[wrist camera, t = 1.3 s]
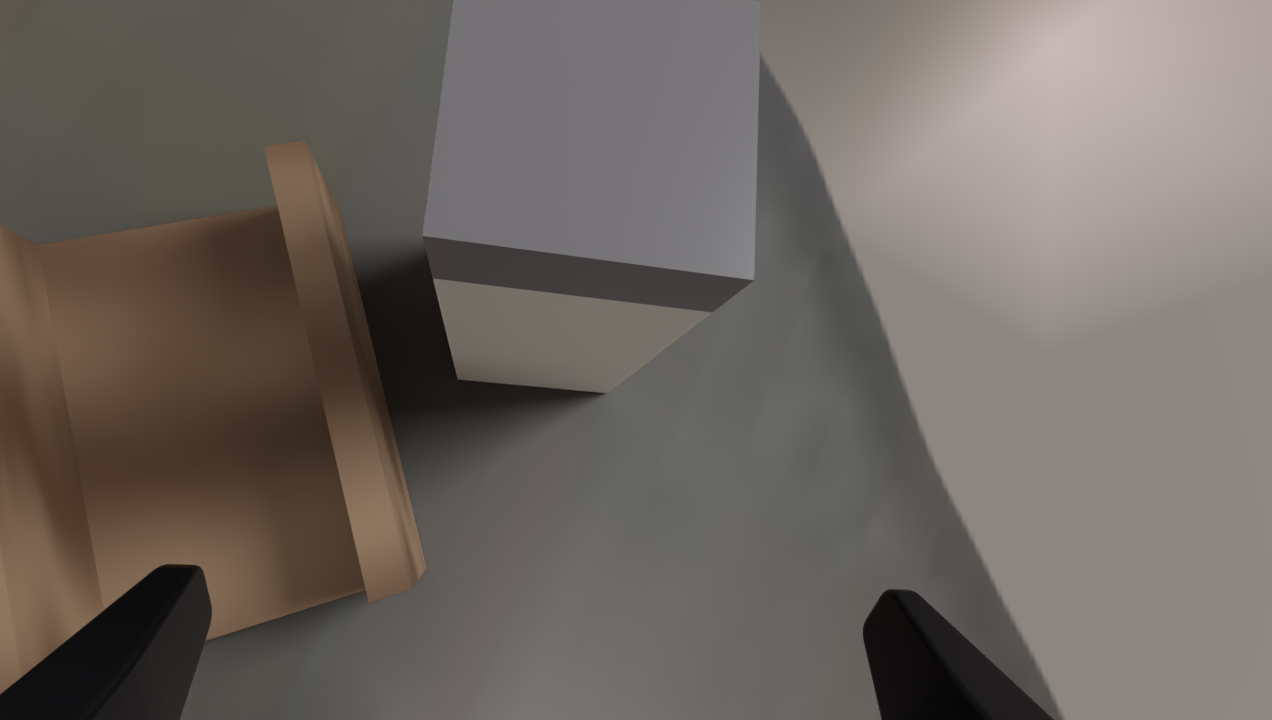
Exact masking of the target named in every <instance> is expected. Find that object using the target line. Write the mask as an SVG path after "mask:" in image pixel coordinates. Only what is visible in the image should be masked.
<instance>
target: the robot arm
mask: <svg viewBox="0 0 1272 720" xmlns="http://www.w3.org/2000/svg"><path fill="white" fill-rule="evenodd" d="M211 619H212V605H211V600H210V596H209V592H208V587H207V583H206V579H205V575H204V572H203V569H202V568H201V567H199V566H198V565H186V564H165V565H162V566H159V567H157V568H155V569H154V570H153V571H151V572H150V573H149V574H148V575H147V576H145V577H144V578H143V579H142V580H140V581H139V582H138V583H137V584H135V585H134V586H133V587H132V588H130V589H129V590H128V591H127V592H126V593H124V594H123V595H122V596H121V597H119V598H118V599H117V600H116V601H114V602H113V603H112V604H111V605H110V606H108V607H107V608H106V609H105V610H103V611H102V612H101V613H100V614H98V615H97V616H96V617H95V618H93V619H92V620H91V621H90V622H89V623H87V624H86V625H85V626H84V627H82V628H81V629H80V630H79V631H77V632H76V633H75V634H74V635H73V636H71V637H70V638H69V639H68V640H66V641H65V642H64V643H63V644H61V645H60V646H59V647H58V648H56V649H55V650H54V651H53V652H52V653H50V654H49V655H48V656H47V657H45V658H44V659H43V660H42V661H40V662H39V663H38V664H37V665H36V666H34V667H33V668H32V669H31V670H29V671H28V672H27V673H26V674H24V675H23V676H22V677H21V678H20V679H18V680H17V681H16V682H15V683H13V684H12V685H11V686H10V687H8V688H7V689H6V690H5V691H3V692H2V693H1V694H0V720H180V717H181V714H182V711H183V708H184V705H185V701H186V698H187V695H188V692H189V689H190V686H191V683H192V680H193V677H194V674H195V671H196V668H197V665H198V662H199V658H200V655H201V652H202V649H203V646H204V643H205V640H206V637H207V634H208V631H209V627H210V624H211ZM863 639H864V644H865V649H866V653H867V657H868V662H869V666H870V671H871V675H872V680H873V684H874V688H875V693H876V697H877V702H878V706H879V710H880V715H881V719H882V720H1054V719H1053V718H1052V717H1051V716H1050V715H1048V714H1047V713H1046V712H1045V711H1044V710H1043V709H1042V708H1041V707H1040V706H1039V705H1038V704H1037V703H1036V702H1034V701H1033V700H1032V699H1031V698H1030V697H1029V696H1028V695H1027V694H1026V693H1025V692H1024V691H1023V690H1022V689H1020V688H1019V687H1018V686H1017V685H1016V684H1015V683H1014V682H1013V681H1012V680H1011V679H1010V678H1009V677H1007V676H1006V675H1005V674H1004V673H1003V672H1002V671H1001V670H1000V669H999V668H998V667H997V666H996V665H995V664H993V663H992V662H991V661H990V660H989V659H988V658H987V657H986V656H985V655H984V654H983V653H982V652H981V651H979V650H978V649H977V648H976V647H975V646H974V645H973V644H972V643H971V642H970V641H969V640H968V639H967V638H965V637H964V636H963V635H962V634H961V633H960V632H959V631H958V630H957V629H956V628H955V627H954V626H952V625H951V624H950V623H949V622H948V621H947V620H946V619H945V618H944V617H943V616H942V615H941V614H940V613H938V612H937V611H936V610H935V609H934V608H933V607H932V606H931V605H930V604H929V603H928V602H927V601H926V600H924V599H923V598H922V597H921V596H920V595H919V594H917V593H916V592H914V591H911V590H899V589H889V590H886V591H885V592H883V594H882V595H881V596H880V598H879V600H878V601H877V603H876V604H875V606H874V608H873V609H872V611H871V612H870V614H869V616H868V617H867V619H866V621H865V623H864V627H863Z"/></svg>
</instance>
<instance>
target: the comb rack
mask: <svg viewBox="0 0 1272 720" xmlns="http://www.w3.org/2000/svg"><path fill="white" fill-rule="evenodd" d="M264 149H265V153H266V158H267V162H268V167H269V171H270V175H271V180H272V184H273V188H274V193H275V197H276V201H277V205H276V206H270V207H264V208H258V209H252V210H246V211H240V212H234V213H228V214H222V215H216V216H210V217H204V218H198V219H192V220H186V221H180V222H174V223H168V224H162V225H156V226H150V227H144V228H138V229H132V230H126V231H120V232H114V233H108V234H102V235H96V236H90V237H84V238H78V239H72V240H66V241H60V242H54V243H48V244H42V245H37V244H35V243H33V242H31V241H29V240H27V239H26V238H24V237H22V236H20V235H18V234H16V233H15V232H13V231H11V230H9V229H7V228H5V227H4V226H2V225H0V694H1V693H2V692H3V691H5V690H6V689H7V688H8V687H10V686H11V685H12V684H13V683H15V682H16V681H17V680H18V679H20V678H21V677H22V676H23V675H24V674H26V673H27V672H28V671H29V670H31V669H32V668H33V667H34V666H36V665H37V664H38V663H39V662H40V661H42V660H43V659H44V658H45V657H47V656H48V655H49V654H50V653H52V652H53V651H54V650H55V649H56V648H58V647H59V646H60V645H61V644H63V643H64V642H65V641H66V640H68V639H69V638H70V637H71V636H73V635H74V634H75V633H76V632H77V631H79V630H80V629H81V628H82V627H84V626H85V625H86V624H87V623H89V622H90V621H91V620H92V619H93V618H95V617H96V616H97V615H98V614H100V613H101V612H102V611H103V610H105V609H106V608H107V607H108V606H110V605H111V604H112V603H113V602H114V601H116V600H117V599H118V598H119V597H121V596H122V595H123V594H124V593H126V592H127V591H128V590H129V589H130V588H132V587H133V586H134V585H135V584H137V583H138V582H139V581H140V580H142V579H143V578H144V577H145V576H147V575H148V574H149V573H150V572H151V571H153V570H154V569H155V568H157V567H159V566H162V565H165V564H186V565H198V566H199V567H201V568H202V569H203V572H204V575H205V579H206V583H207V587H208V592H209V596H210V600H211V605H212V619H211V624H210V627H209V631H208V634H207V637H206V640H210V639H213V638H216V637H219V636H222V635H225V634H229V633H232V632H235V631H238V630H241V629H244V628H248V627H251V626H254V625H257V624H260V623H263V622H266V621H270V620H273V619H276V618H279V617H282V616H285V615H289V614H292V613H295V612H298V611H301V610H304V609H308V608H311V607H314V606H317V605H320V604H323V603H327V602H330V601H333V600H336V599H339V598H342V597H346V596H349V595H352V594H355V593H358V592H361V591H365V590H366V593H367V598H368V602H373V601H376V600H379V599H382V598H385V597H388V596H391V595H394V594H398V593H401V592H404V591H407V590H410V589H412V587H413V586H414V585H415V583H416V582H417V580H418V579H419V578H420V576H421V575H422V573H423V572H424V571H425V569H426V564H425V559H424V555H423V551H422V547H421V543H420V539H419V535H418V530H417V526H416V522H415V518H414V514H413V510H412V506H411V502H410V497H409V493H408V489H407V485H406V481H405V477H404V473H403V468H402V464H401V460H400V456H399V452H398V448H397V444H396V439H395V435H394V431H393V427H392V423H391V419H390V415H389V410H388V406H387V402H386V398H385V394H384V390H383V386H382V381H381V377H380V373H379V369H378V365H377V361H376V357H375V352H374V348H373V344H372V340H371V336H370V332H369V328H368V323H367V319H366V315H365V311H364V307H363V303H362V299H361V295H360V290H359V286H358V282H357V278H356V274H355V270H354V266H353V261H352V257H351V253H350V249H349V245H348V241H347V237H346V232H345V228H344V224H343V220H342V216H341V212H340V208H339V206H338V204H337V202H336V200H335V199H334V197H333V195H332V193H331V191H330V189H329V187H328V185H327V183H326V181H325V179H324V177H323V175H322V173H321V172H320V170H319V168H318V166H317V164H316V162H315V160H314V158H313V156H312V154H311V152H310V150H309V148H308V146H307V145H306V143H305V141H299V142H292V143H285V144H278V145H271V146H264ZM206 640H205V641H206Z"/></svg>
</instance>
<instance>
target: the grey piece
mask: <svg viewBox="0 0 1272 720" xmlns="http://www.w3.org/2000/svg"><path fill="white" fill-rule="evenodd" d="M760 21H761V3H760V2H756V1H751V0H453V8H452V15H451V23H450V31H449V38H448V46H447V53H446V61H445V68H444V76H443V83H442V91H441V99H440V106H439V114H438V121H437V129H436V136H435V144H434V152H433V159H432V167H431V174H430V182H429V189H428V197H427V205H426V212H425V220H424V227H423V235H422V236H423V240H424V245H425V249H426V253H427V257H428V261H429V265H430V269H431V273H432V277H433V281H434V285H435V289H436V293H437V298H438V302H439V306H440V310H441V314H442V318H443V322H444V326H445V330H446V334H447V338H448V342H449V346H450V351H451V355H452V359H453V363H454V367H455V371H456V375H457V379H458V380H469V381H480V382H491V383H502V384H512V385H523V386H534V387H545V388H556V389H566V390H577V391H588V392H599V393H608V392H609V391H611V390H612V389H613V388H615V387H616V386H617V385H619V384H620V383H621V382H622V381H624V380H625V379H626V378H628V377H629V376H630V375H632V374H633V373H634V372H635V371H637V370H638V369H639V368H641V367H642V366H643V365H644V364H646V363H647V362H648V361H650V360H651V359H652V358H654V357H655V356H656V355H657V354H659V353H660V352H661V351H663V350H664V349H665V348H667V347H668V346H669V345H670V344H672V343H673V342H674V341H676V340H677V339H678V338H680V337H681V336H682V335H683V334H685V333H686V332H687V331H689V330H690V329H691V328H693V327H694V326H695V325H696V324H698V323H699V322H700V321H702V320H703V319H704V318H706V317H707V316H708V315H709V314H711V313H712V312H713V311H715V310H716V309H717V308H719V307H720V306H721V305H722V304H724V303H725V302H726V301H728V300H729V299H730V298H732V297H733V296H734V295H735V294H737V293H738V292H739V291H741V290H742V289H743V288H745V287H746V286H747V285H748V284H750V283H751V282H752V281H754V261H755V221H756V181H757V141H758V101H759V61H760Z"/></svg>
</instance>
